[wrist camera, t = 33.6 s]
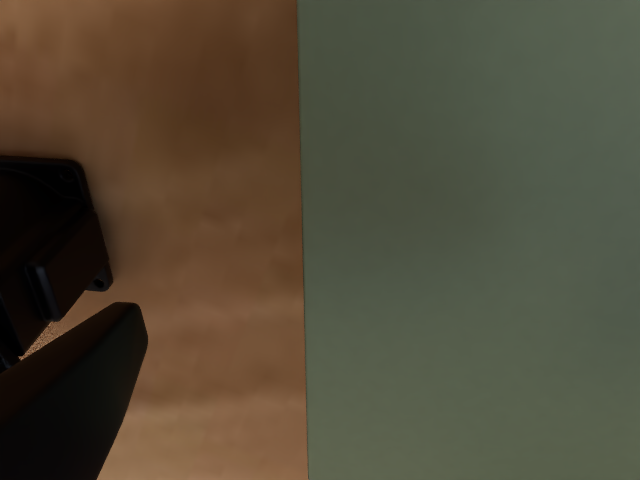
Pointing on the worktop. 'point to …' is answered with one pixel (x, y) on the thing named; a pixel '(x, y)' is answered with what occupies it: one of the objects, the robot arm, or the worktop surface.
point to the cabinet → (471, 238)
